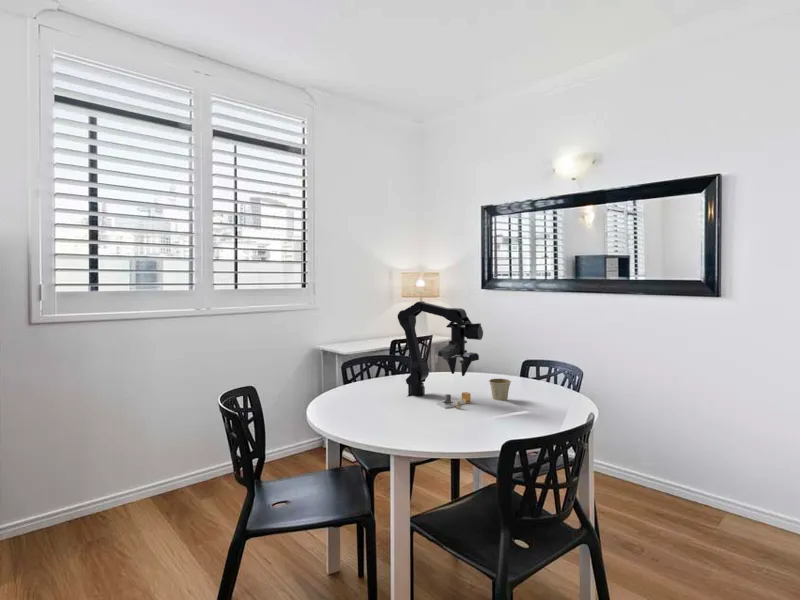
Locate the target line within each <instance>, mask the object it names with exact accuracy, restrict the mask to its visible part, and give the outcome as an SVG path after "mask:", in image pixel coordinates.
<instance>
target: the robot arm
mask: <svg viewBox="0 0 800 600" xmlns="http://www.w3.org/2000/svg"><path fill="white" fill-rule="evenodd" d="M422 312H423V313H428V314H430V315H435V316H439V317H443V318H444V319H445V320H447V321H449V323H447V325H446V328H451V330H450V332H451V333H450V334H451V335H450V340H449V341H448V345H445V346H444V347H442V348H441V349H439V350H438V351H437V352H438V353H437V357H442V359H443V360H445V361H446V362H447V365H448V366H449V367H448V368H449V370H450V372H451V374H452V375H454V374H455V372H456V366H457V365H456V364H457V358H462V360H459V363H460V364H461V377H465V375H466V374H467V371H468V369H469V368H470V365H471V364H472V362H474V361H475V362H476V361H479V360H480V355H479V354H478V353H477V352H471V351H470V352H468V351H467V349H466V345H465V344H467V343H468V340H473V341H474V340H476V341H481V340H482V339H483V336H484V330H483V327H482V324H481V323H479V322H477V323H473V322H471V320H470V318H469V316H468V315H467V311H466V310H465V309H464V308H459V307H445V306H442V305H441V306H440V305H437V304H432V303H428V302H425V301H423V300H422V301H421V300H420V301H416V302H415V303H414V304H412V305H411V306H409V307H407V308H405V309H402V310H399V312H398V314H397V320H398V323H399V325H400V326H401V328H402V329H403V330H404V335H405V338H406V339H405V340H406V343H407V348H408V352H409V357H410V360H411V361H410V368H409V371H410V372H409V373H410V375H409V376H407V378H406V379H405V383H406V385H408V389H407V392H408V395H407V396H406V397H424V396H425V395H426V394H425V392H426V391H425V389H426V388H425V387H426V386H425V385H424V384H425V382H426V379H427V378H428V376H429V375H430V371H431V370H430V369H429V363H428V362H427V361H426V362H425V361H424V360H423V358H422V353H421V349H420V346H419V345H420V344H419V341H418V337H417V332H416V331H417V330H416V325H417V317H418V315H420V314H421V313H422ZM466 339H467V340H466Z"/></svg>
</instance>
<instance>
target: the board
mask: <svg viewBox="0 0 800 600" xmlns="http://www.w3.org/2000/svg"><path fill="white" fill-rule="evenodd" d="M444 400H445V403H446V404H449V403H451V400H452V394H450V393H447V394H444ZM456 410H461V404H460V401H456Z"/></svg>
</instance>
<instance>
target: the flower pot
mask: <svg viewBox="0 0 800 600" xmlns="http://www.w3.org/2000/svg"><path fill="white" fill-rule="evenodd" d="M488 382H489V384H490V385H489V386H490V390H491V396H492V397H491V398H492V399H493V400H496V401H505V402H508V398H509V389H510V386H511V383H512V381H511V380H510V379H506V378H490V379H489V380H488Z"/></svg>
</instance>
